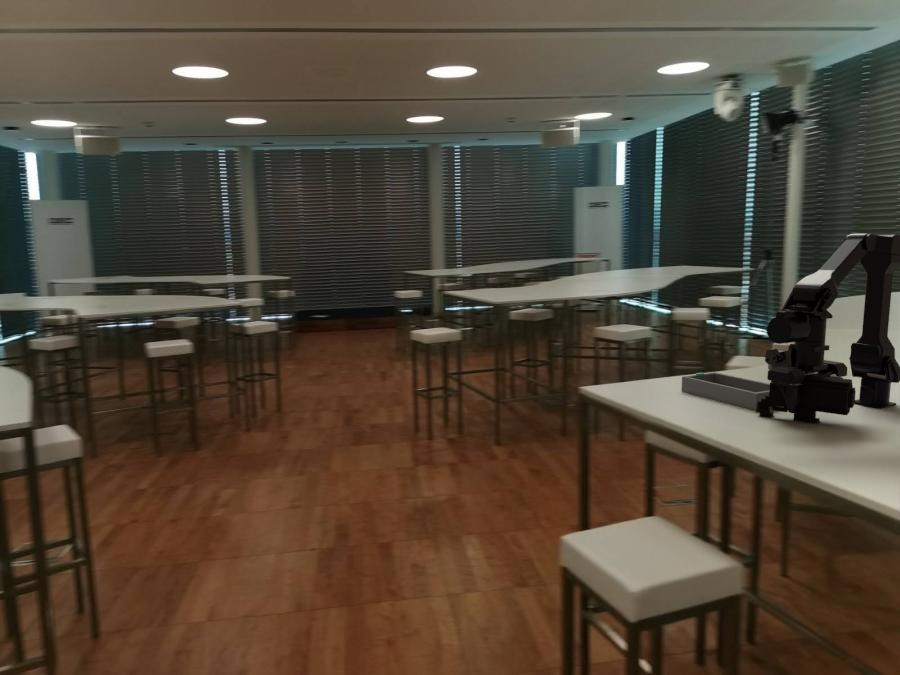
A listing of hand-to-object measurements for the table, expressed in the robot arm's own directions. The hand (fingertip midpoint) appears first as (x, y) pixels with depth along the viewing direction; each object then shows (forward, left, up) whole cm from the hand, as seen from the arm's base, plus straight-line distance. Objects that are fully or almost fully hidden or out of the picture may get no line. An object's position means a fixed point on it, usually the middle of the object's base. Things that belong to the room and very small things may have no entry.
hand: (805, 410), depth 137 cm
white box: (-45, -35, -3) cm, 57 cm away
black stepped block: (0, 0, -3) cm, 3 cm away
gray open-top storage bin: (-5, -23, -2) cm, 24 cm away
